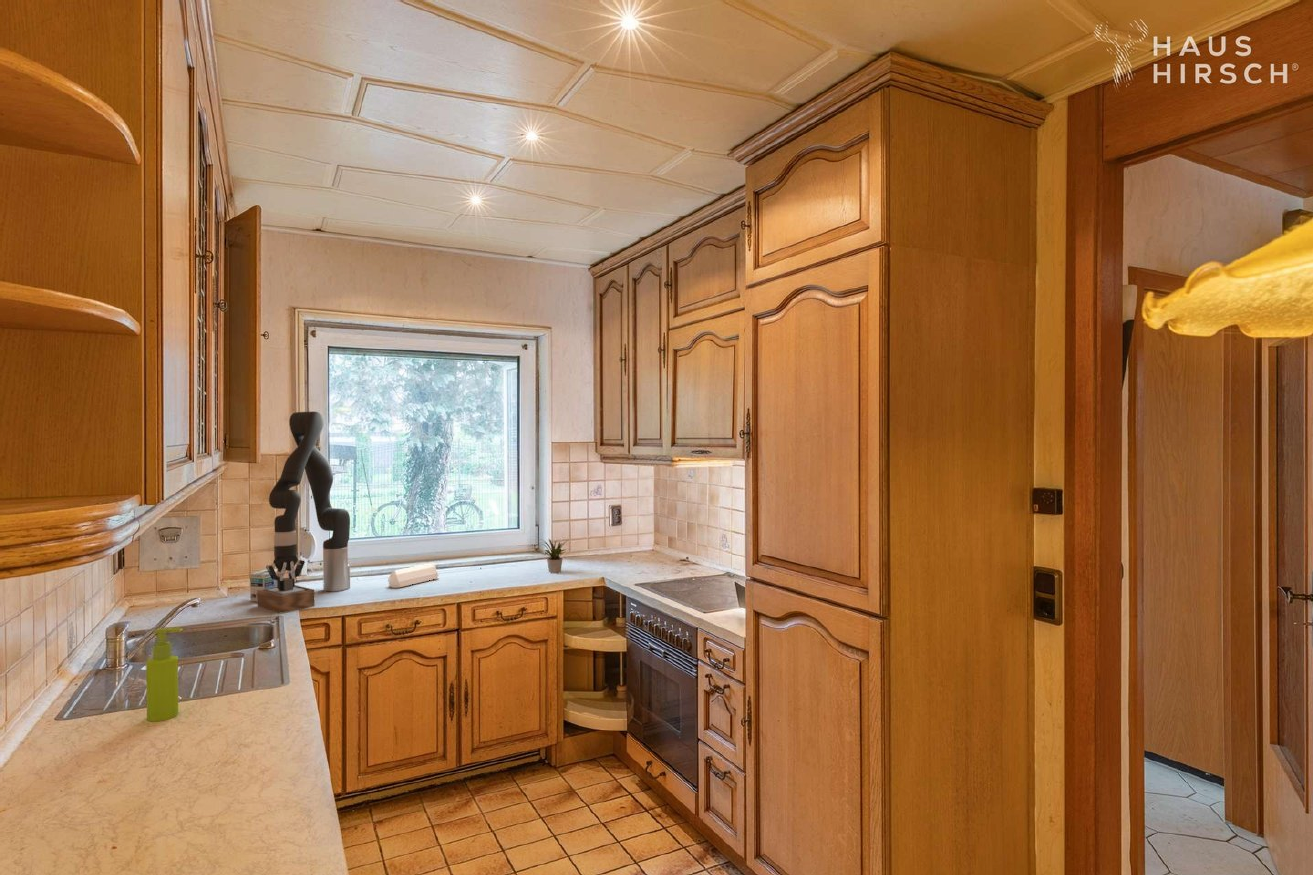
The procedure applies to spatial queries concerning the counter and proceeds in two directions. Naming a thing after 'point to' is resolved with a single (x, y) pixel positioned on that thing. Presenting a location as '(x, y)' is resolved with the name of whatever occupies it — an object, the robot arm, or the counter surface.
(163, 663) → the soap dispenser
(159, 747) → the counter surface
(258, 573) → the light bulb box
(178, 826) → the counter surface
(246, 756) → the counter surface
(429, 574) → the pale wooden prism
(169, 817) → the counter surface
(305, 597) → the walnut box
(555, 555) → the house plant
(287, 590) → the cover plate
